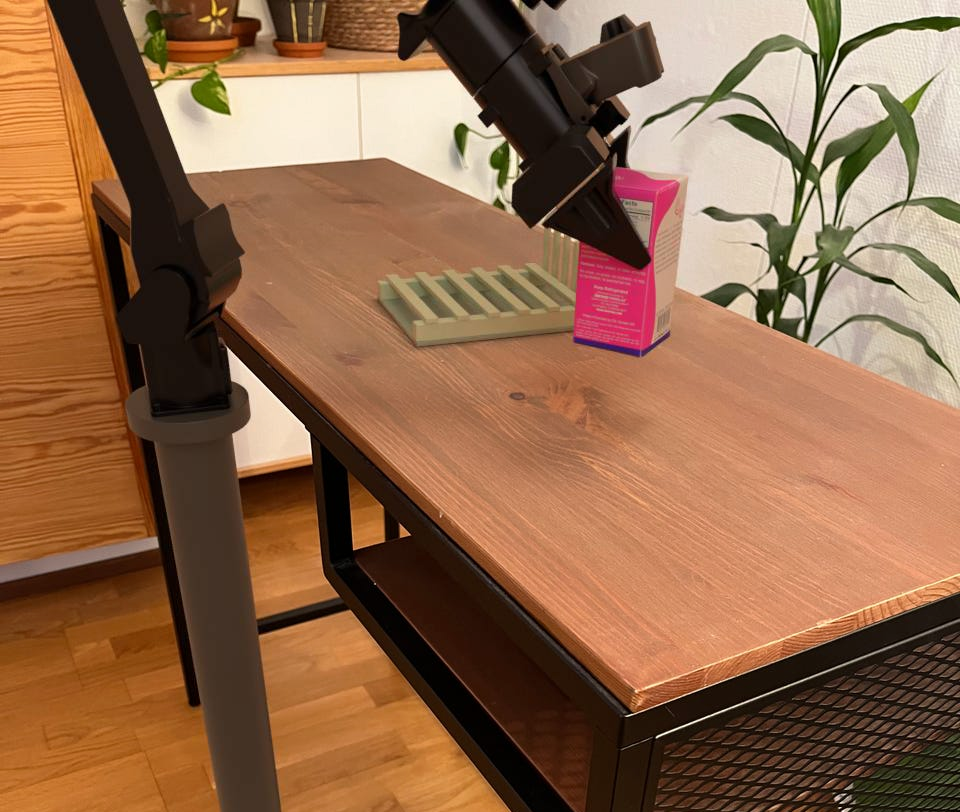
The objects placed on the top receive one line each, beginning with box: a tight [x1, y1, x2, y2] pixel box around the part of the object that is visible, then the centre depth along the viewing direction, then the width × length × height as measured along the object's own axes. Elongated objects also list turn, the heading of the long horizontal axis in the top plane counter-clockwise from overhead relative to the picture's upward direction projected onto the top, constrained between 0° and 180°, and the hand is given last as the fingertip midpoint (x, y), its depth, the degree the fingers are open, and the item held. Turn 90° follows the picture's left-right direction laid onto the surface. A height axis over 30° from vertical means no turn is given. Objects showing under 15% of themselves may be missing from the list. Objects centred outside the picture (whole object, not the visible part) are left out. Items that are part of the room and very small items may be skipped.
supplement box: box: [572, 167, 689, 359], centre depth 74 cm, size 6×6×12 cm
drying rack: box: [377, 227, 579, 348], centre depth 100 cm, size 18×14×7 cm
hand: (650, 251), depth 73 cm, fingers closed on supplement box, 7 cm apart
